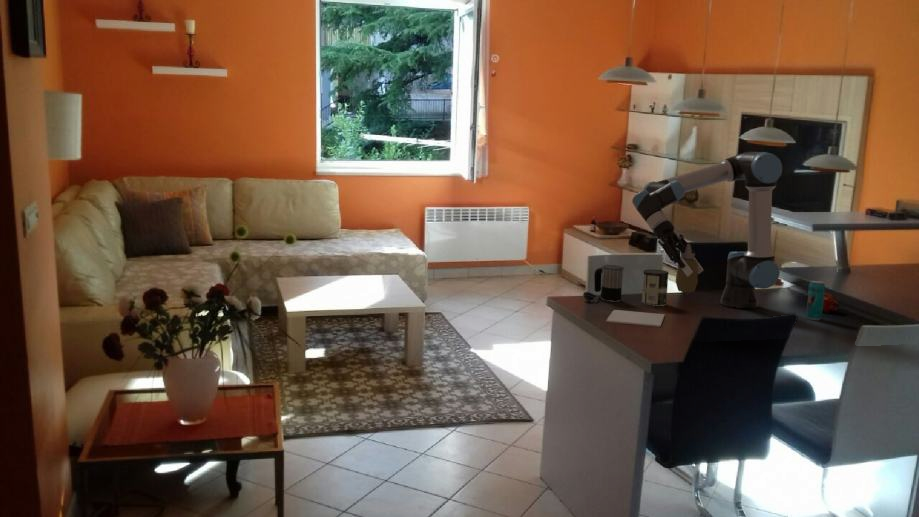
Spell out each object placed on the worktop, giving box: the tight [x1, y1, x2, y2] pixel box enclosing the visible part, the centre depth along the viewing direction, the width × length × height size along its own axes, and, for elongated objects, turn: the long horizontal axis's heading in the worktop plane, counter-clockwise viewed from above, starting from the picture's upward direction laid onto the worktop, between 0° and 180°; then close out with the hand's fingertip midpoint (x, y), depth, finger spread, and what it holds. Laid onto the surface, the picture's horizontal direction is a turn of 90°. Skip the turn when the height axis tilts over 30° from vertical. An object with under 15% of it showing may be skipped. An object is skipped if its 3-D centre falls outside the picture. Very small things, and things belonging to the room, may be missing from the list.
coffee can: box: [641, 269, 670, 307], centre depth 340 cm, size 10×10×14 cm
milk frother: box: [582, 264, 625, 301], centre depth 344 cm, size 14×16×15 cm
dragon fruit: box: [823, 291, 840, 313], centre depth 334 cm, size 8×8×12 cm
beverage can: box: [806, 280, 826, 321], centre depth 319 cm, size 6×6×15 cm
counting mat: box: [605, 309, 666, 328], centre depth 313 cm, size 20×20×1 cm
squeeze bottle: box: [675, 243, 699, 293], centre depth 304 cm, size 8×8×18 cm
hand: (695, 273), depth 302 cm, fingers closed on squeeze bottle, 6 cm apart
